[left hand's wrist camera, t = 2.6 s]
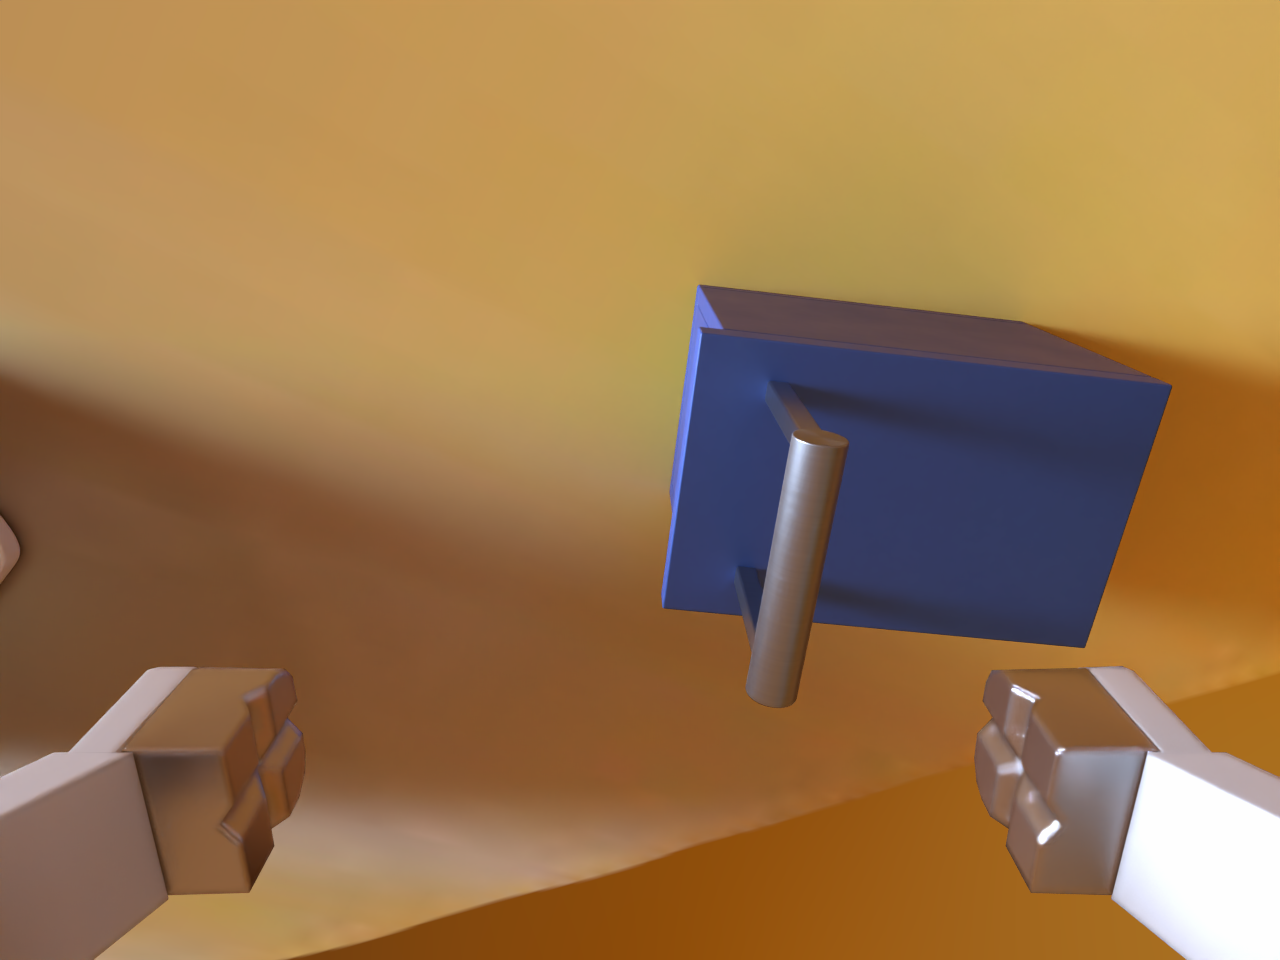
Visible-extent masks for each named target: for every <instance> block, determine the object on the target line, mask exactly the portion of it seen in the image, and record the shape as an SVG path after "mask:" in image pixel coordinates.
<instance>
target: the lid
mask: <svg viewBox="0 0 1280 960" xmlns="http://www.w3.org/2000/svg"><path fill="white" fill-rule="evenodd" d="M1171 389H1172V385H1170V384H1168V383H1165V382H1163V381H1161V380H1158V379H1156V378H1153V377H1144V376H1135V375H1126V374H1117V373H1108V372H1099V371H1090V370H1081V369H1072V368H1063V367H1055V366H1046V365H1037V364H1028V363H1019V362H1010V361H1001V360H992V359H983V358H974V357H965V356H956V355H948V354H939V353H930V352H921V351H912V350H903V349H894V348H885V347H876V346H867V345H858V344H849V343H840V342H832V341H823V340H814V339H805V338H796V337H787V336H778V335H769V334H760V333H751V332H742V331H733V330H725V329H716V328H707V327H699V328H698V332H697V339H696V347H695V354H694V361H693V368H692V376H691V383H690V390H689V397H688V405H687V412H686V419H685V426H684V433H683V441H682V448H681V455H680V462H679V470H678V477H677V484H676V491H675V499H674V506H673V513H672V520H671V528H670V535H669V542H668V549H667V557H666V564H665V571H664V578H663V586H662V593H661V595H662V607H663V608H665V609H676V610H686V611H697V612H707V613H718V614H729V615H739V616H743V620H744V624H745V628H746V632H747V636H748V640H749V644H750V648H751V652H752V655H751V660H750V666H749V671H748V677H747V682H746V692H747V694H748V695H749V697H750V698H752V699H753V700H754V701H756V702H757V703H759V704H762V705H764V706H768V707H774V708H783V707H788V706H790V705H792V704H793V703H794V702H795V701H796V698H797V694H798V689H799V684H800V679H801V674H802V669H803V665H804V660H805V655H806V650H807V645H808V641H809V636H810V631H811V626H812V622H813V623H824V624H835V625H845V626H856V627H866V628H877V629H888V630H898V631H909V632H919V633H930V634H941V635H951V636H962V637H972V638H983V639H993V640H1004V641H1015V642H1025V643H1036V644H1046V645H1057V646H1068V647H1078V648H1085V646H1086V643H1087V640H1088V637H1089V634H1090V631H1091V628H1092V625H1093V622H1094V619H1095V616H1096V613H1097V610H1098V607H1099V604H1100V601H1101V598H1102V595H1103V592H1104V589H1105V586H1106V583H1107V580H1108V577H1109V574H1110V571H1111V568H1112V565H1113V562H1114V559H1115V556H1116V553H1117V550H1118V547H1119V544H1120V541H1121V538H1122V535H1123V532H1124V529H1125V526H1126V523H1127V520H1128V517H1129V514H1130V511H1131V508H1132V505H1133V502H1134V499H1135V496H1136V493H1137V490H1138V487H1139V484H1140V481H1141V478H1142V475H1143V472H1144V469H1145V466H1146V463H1147V460H1148V457H1149V455H1150V452H1151V449H1152V446H1153V443H1154V440H1155V437H1156V434H1157V431H1158V428H1159V425H1160V422H1161V419H1162V416H1163V413H1164V410H1165V407H1166V404H1167V401H1168V398H1169V395H1170V392H1171Z"/></svg>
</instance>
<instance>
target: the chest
mask: <svg viewBox="0 0 1280 960" xmlns="http://www.w3.org/2000/svg"><path fill="white" fill-rule="evenodd" d="M699 327H707V328H716V329H725V330H733V331H742V332H751V333H760V334H769V335H778V336H787V337H796V338H805V339H814V340H823V341H832V342H840V343H849V344H858V345H867V346H876V347H885V348H894V349H903V350H912V351H921V352H930V353H939V354H948V355H956V356H965V357H974V358H983V359H992V360H1001V361H1010V362H1019V363H1028V364H1037V365H1046V366H1055V367H1063V368H1072V369H1081V370H1090V371H1099V372H1108V373H1117V374H1126V375H1135V376H1144V377H1151V376H1148V375H1146V374H1144V373H1141V372H1139V371H1137V370H1134V369H1132V368H1130V367H1127V366H1125V365H1123V364H1120V363H1118V362H1116V361H1113V360H1111V359H1109V358H1106V357H1104V356H1101V355H1099V354H1097V353H1094V352H1092V351H1090V350H1087V349H1085V348H1083V347H1080V346H1078V345H1076V344H1073V343H1071V342H1069V341H1066V340H1064V339H1061V338H1059V337H1057V336H1054V335H1052V334H1050V333H1047V332H1045V331H1043V330H1040V329H1038V328H1036V327H1033V326H1031V325H1028V324H1026V323H1024V322H1020V321H1011V320H1003V319H994V318H985V317H977V316H968V315H959V314H950V313H942V312H933V311H924V310H916V309H907V308H898V307H889V306H881V305H872V304H863V303H855V302H846V301H837V300H828V299H820V298H811V297H802V296H794V295H785V294H776V293H767V292H759V291H750V290H741V289H733V288H724V287H715V286H706V285H698V287H697V294H696V301H695V309H694V316H693V324H692V331H691V338H690V346H689V353H688V360H687V368H686V375H685V383H684V390H683V397H682V405H681V412H680V419H679V427H678V434H677V442H676V449H675V456H674V464H673V471H672V478H671V486H670V499H671V506H672V513H673V506H674V499H675V491H676V484H677V477H678V470H679V462H680V455H681V448H682V441H683V433H684V426H685V419H686V412H687V405H688V397H689V390H690V383H691V376H692V368H693V361H694V354H695V347H696V339H697V332H698V328H699Z"/></svg>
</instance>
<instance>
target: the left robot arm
mask: <svg viewBox="0 0 1280 960" xmlns="http://www.w3.org/2000/svg"><path fill="white" fill-rule="evenodd" d="M19 556H20V546H19V543H18V540H17V538H16V536H15V535H14V533H13V531H12V530H11V528H10V527H9V526H8V524H7V523H6V521H5V520H4V519H3V518H2V516H1V515H0V584H1V583H2V581H3V580H4V579H5V577H6V576H7V575H8V573H9V572H10V571H11V569H12V568H13V567H14V565H15V564H16V563H17V561H18V559H19ZM296 702H297V697H296V692H295V687H294V682H293V677H292V676H291V675H290V674H289V673H288V672H287V671H286V670H285V669H272V668H222V667H201V668H198V667H157V668H153V669H149V670H147V671H146V672H145V673H144V674H143V675H142V676H141V677H140V678H139V679H138V680H137V681H136V682H135V683H134V684H133V685H132V687H131V688H130V689H129V690H128V691H127V692H126V693H125V694H124V695H123V696H122V697H121V698H120V699H119V700H118V701H117V702H116V703H115V704H114V705H113V706H112V707H111V708H110V709H109V710H108V712H107V713H106V714H105V715H104V716H103V717H102V718H101V719H100V720H99V721H98V722H97V723H96V724H95V725H94V726H93V727H92V728H91V729H90V730H89V731H88V732H87V733H86V734H85V735H84V737H83V738H82V739H81V740H80V741H79V742H78V743H77V744H76V745H75V746H74V747H73V748H72V749H71V750H70V751H69V752H54V753H52V754H49V755H47V756H45V757H43V758H41V759H39V760H37V761H34V762H32V763H30V764H28V765H26V766H24V767H22V768H19V769H17V770H15V771H13V772H11V773H9V774H7V775H4V776H2V777H0V960H94V959H95V958H96V957H97V956H99V955H100V954H101V953H102V952H104V951H105V950H106V949H107V948H109V947H110V946H111V945H112V944H114V943H115V942H116V941H117V940H119V939H120V938H121V937H122V936H123V935H125V934H126V933H127V932H128V931H130V930H131V929H132V928H133V927H135V926H136V925H137V924H138V923H140V922H141V921H142V920H143V919H145V918H146V917H147V916H148V915H149V914H151V913H152V912H153V911H154V910H156V909H157V908H158V907H159V906H161V905H162V904H163V903H164V902H166V901H167V900H168V895H187V894H222V893H249V892H250V890H251V888H252V887H253V885H254V883H255V881H256V879H257V877H258V875H259V873H260V872H261V870H262V868H263V866H264V864H265V862H266V860H267V858H268V857H269V855H270V853H271V851H272V849H273V847H274V841H273V836H272V830H271V829H272V828H273V827H275V826H276V825H278V824H279V823H281V822H282V821H283V820H285V819H286V818H288V817H289V816H290V815H291V813H292V811H293V809H294V807H295V805H296V803H297V801H298V799H299V796H300V792H301V787H302V783H303V779H304V774H305V746H304V739H303V733H302V732H301V731H300V730H299V729H298V728H297V727H296V726H295V725H294V724H293V723H292V722H291V721H290V720H289V719H288V718H287V717H288V715H289V714H290V712H291V711H292V709H293V707H294V706H295V704H296ZM983 702H984V704H985V706H986V707H987V709H988V711H989V712H990V714H991V715H992V717H993V718H992V719H991V720H990V721H989V722H988V723H987V724H986V725H985V726H984V727H983V728H982V729H981V730H980V731H979V732H978V733H977V741H976V749H975V757H974V760H975V770H976V781H977V785H978V788H979V792H980V795H981V798H982V801H983V803H984V805H985V807H986V809H987V811H988V813H989V815H990V816H991V817H992V818H994V819H995V820H997V821H998V822H1000V823H1001V824H1002V825H1004V826H1005V827H1007V828H1008V829H1009V830H1008V836H1007V842H1006V847H1007V849H1008V851H1009V853H1010V855H1011V857H1012V858H1013V860H1014V862H1015V864H1016V866H1017V868H1018V870H1019V871H1020V873H1021V875H1022V877H1023V879H1024V881H1025V883H1026V884H1027V886H1028V888H1029V890H1030V892H1031V893H1056V894H1093V895H1112V900H1114V901H1115V902H1116V903H1117V904H1119V905H1120V906H1121V907H1122V908H1124V909H1125V910H1126V911H1127V912H1128V913H1130V914H1131V915H1132V916H1133V917H1135V918H1136V919H1137V920H1138V921H1140V922H1141V923H1142V924H1143V925H1144V926H1146V927H1147V928H1148V929H1149V930H1151V931H1152V932H1153V933H1154V934H1156V935H1157V936H1158V937H1159V938H1161V939H1162V940H1163V941H1164V942H1166V943H1167V944H1168V945H1169V946H1170V947H1172V948H1173V949H1174V950H1175V951H1177V952H1178V953H1179V954H1180V955H1182V956H1183V957H1184V958H1185V959H1187V960H1280V777H1277V776H1275V775H1273V774H1271V773H1269V772H1267V771H1265V770H1263V769H1261V768H1258V767H1256V766H1254V765H1252V764H1250V763H1248V762H1246V761H1243V760H1241V759H1239V758H1237V757H1235V756H1233V755H1231V754H1229V753H1226V752H1211V751H1210V750H1209V749H1208V748H1207V747H1206V746H1205V745H1204V744H1203V743H1202V742H1201V741H1200V740H1199V739H1198V737H1197V736H1196V735H1195V734H1194V733H1193V732H1192V731H1191V730H1190V729H1189V728H1188V727H1187V726H1186V725H1185V724H1184V723H1183V722H1182V721H1181V720H1180V719H1179V718H1178V717H1177V716H1176V714H1175V713H1174V712H1173V711H1172V710H1171V709H1170V708H1169V707H1168V706H1167V705H1166V704H1165V703H1164V702H1163V701H1162V700H1161V699H1160V698H1159V697H1158V696H1157V695H1156V694H1155V693H1154V692H1153V690H1152V689H1151V688H1150V687H1149V686H1148V685H1147V684H1146V683H1145V682H1144V681H1143V680H1142V679H1141V678H1140V677H1139V676H1138V675H1137V674H1136V673H1135V672H1134V671H1133V670H1130V669H1128V668H1125V667H1123V666H1113V667H1086V668H1064V669H1022V670H992V671H991V673H990V675H989V677H988V679H987V681H986V685H985V691H984V696H983Z"/></svg>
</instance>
